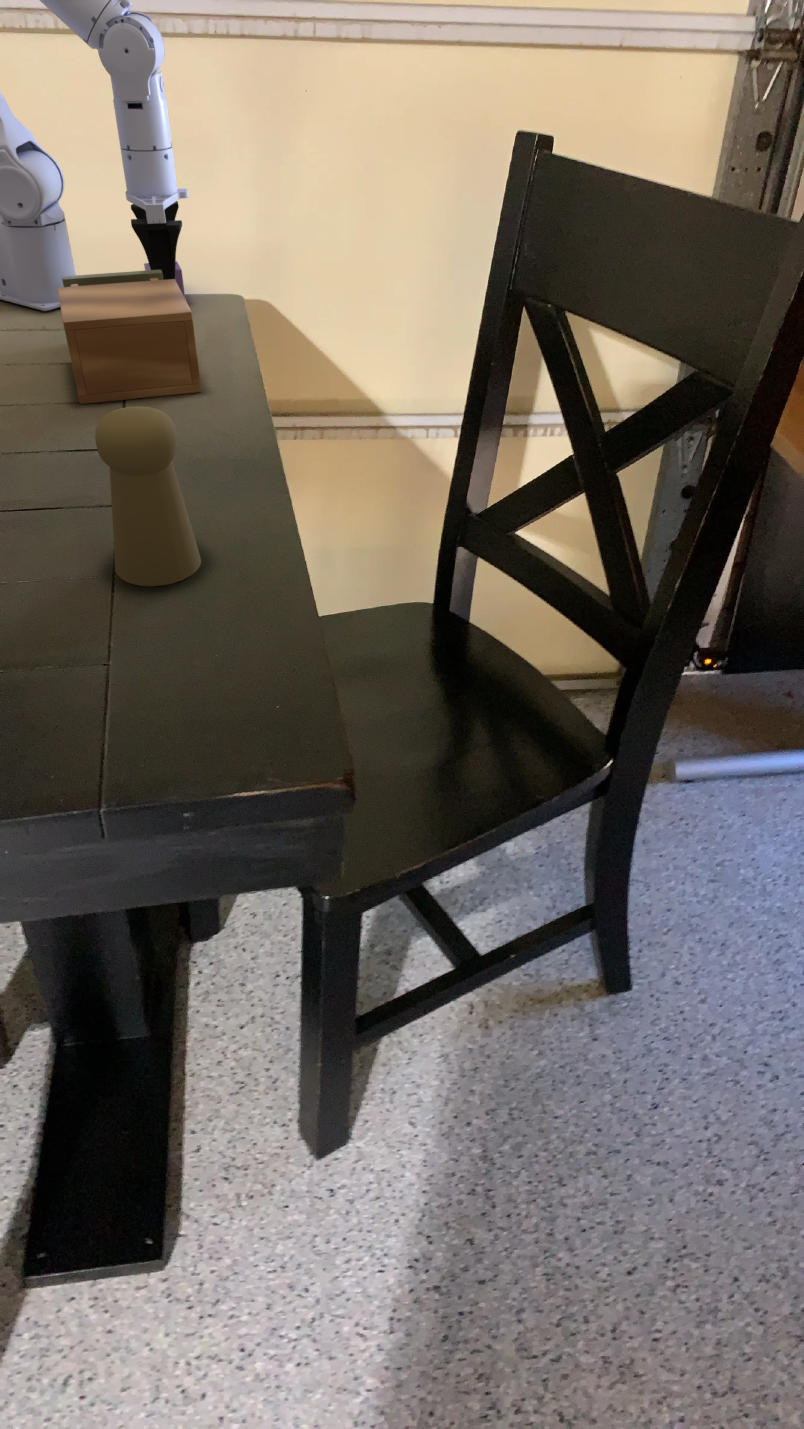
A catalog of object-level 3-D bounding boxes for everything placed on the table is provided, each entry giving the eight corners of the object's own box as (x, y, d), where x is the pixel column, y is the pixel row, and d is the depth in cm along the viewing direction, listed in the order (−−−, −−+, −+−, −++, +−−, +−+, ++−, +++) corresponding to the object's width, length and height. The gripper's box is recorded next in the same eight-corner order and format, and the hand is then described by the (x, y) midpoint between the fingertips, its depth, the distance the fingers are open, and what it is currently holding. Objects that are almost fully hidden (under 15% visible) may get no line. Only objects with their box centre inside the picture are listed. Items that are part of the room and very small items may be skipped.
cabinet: (72, 364, 99) (57, 287, 94) (184, 353, 102) (174, 278, 97) (80, 404, 91) (63, 321, 86) (201, 391, 94) (191, 311, 89)
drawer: (70, 321, 108) (59, 266, 104) (163, 313, 110) (156, 259, 106) (78, 364, 97) (66, 304, 93) (181, 354, 99) (174, 296, 96)
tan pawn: (106, 553, 69) (75, 403, 62) (188, 536, 71) (167, 390, 64) (125, 593, 65) (93, 438, 58) (211, 575, 67) (191, 422, 60)
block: (149, 297, 118) (143, 263, 115) (181, 295, 119) (177, 260, 116) (152, 306, 115) (147, 271, 113) (186, 304, 116) (181, 269, 114)
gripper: (185, 157, 102) (201, 291, 110) (179, 136, 113) (194, 259, 121) (118, 158, 101) (139, 294, 109) (118, 137, 112) (137, 261, 120)
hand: (164, 276), depth 115 cm, fingers open, 7 cm apart
